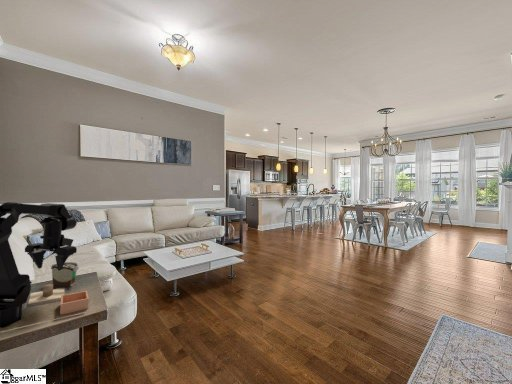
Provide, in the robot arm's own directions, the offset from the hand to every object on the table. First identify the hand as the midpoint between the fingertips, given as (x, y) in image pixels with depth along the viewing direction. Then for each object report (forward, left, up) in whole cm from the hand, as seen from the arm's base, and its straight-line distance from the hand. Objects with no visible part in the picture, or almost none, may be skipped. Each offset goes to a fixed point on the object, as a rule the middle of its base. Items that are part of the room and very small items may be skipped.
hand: (49, 269), depth 97 cm
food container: (+14, +5, -13) cm, 20 cm away
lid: (0, 0, -12) cm, 12 cm away
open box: (-4, -16, -13) cm, 21 cm away
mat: (0, 0, -13) cm, 13 cm away
